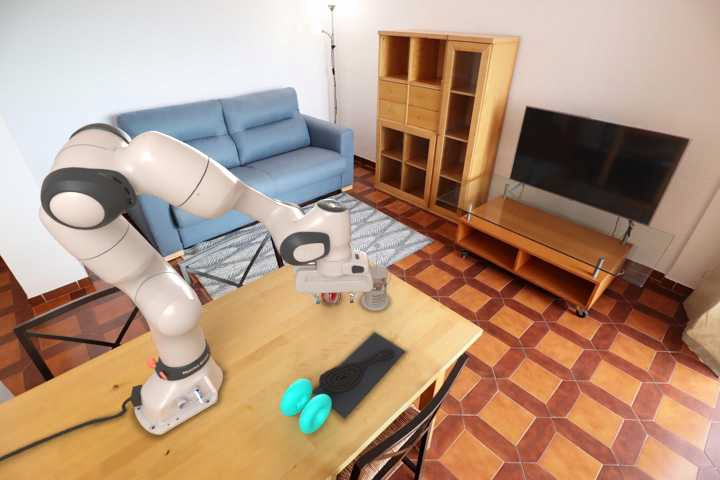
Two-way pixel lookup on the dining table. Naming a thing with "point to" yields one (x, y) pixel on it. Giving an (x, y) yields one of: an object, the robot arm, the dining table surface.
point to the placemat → (370, 378)
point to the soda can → (331, 297)
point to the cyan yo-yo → (305, 405)
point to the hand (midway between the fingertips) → (334, 302)
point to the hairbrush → (350, 373)
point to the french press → (377, 287)
